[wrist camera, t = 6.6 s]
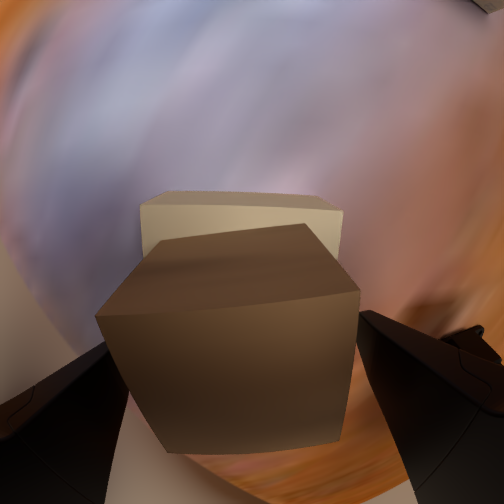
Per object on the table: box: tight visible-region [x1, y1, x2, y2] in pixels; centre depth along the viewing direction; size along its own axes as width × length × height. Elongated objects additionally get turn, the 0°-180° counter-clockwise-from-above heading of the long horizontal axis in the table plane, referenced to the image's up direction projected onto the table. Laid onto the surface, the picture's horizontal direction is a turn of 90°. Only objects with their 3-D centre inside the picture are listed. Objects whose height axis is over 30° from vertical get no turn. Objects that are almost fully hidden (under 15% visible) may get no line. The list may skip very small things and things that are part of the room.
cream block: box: [140, 191, 343, 260], centre depth 12 cm, size 7×7×4 cm
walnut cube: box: [95, 223, 361, 455], centre depth 8 cm, size 5×5×5 cm
